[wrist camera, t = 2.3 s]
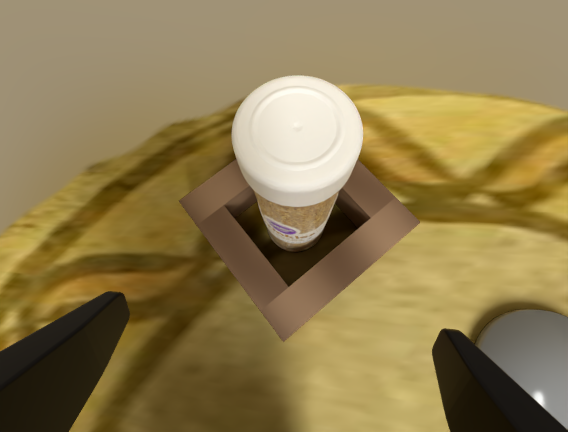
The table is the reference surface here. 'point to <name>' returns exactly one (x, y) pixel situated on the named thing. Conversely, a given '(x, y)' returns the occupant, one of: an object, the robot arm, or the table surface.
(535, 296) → the table surface
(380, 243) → the walnut caddy
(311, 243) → the sprinkles bottle
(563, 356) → the slate coaster
